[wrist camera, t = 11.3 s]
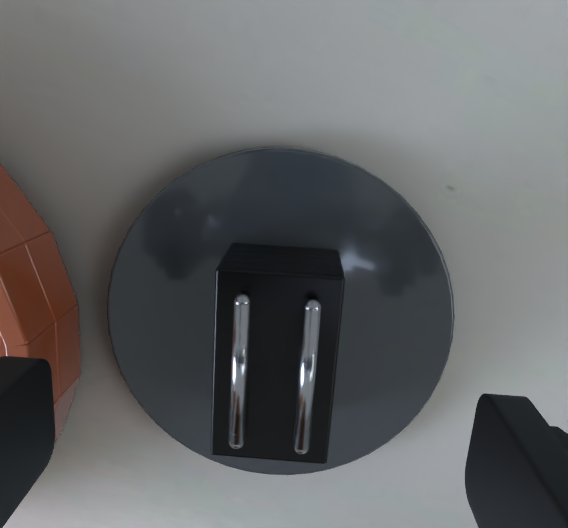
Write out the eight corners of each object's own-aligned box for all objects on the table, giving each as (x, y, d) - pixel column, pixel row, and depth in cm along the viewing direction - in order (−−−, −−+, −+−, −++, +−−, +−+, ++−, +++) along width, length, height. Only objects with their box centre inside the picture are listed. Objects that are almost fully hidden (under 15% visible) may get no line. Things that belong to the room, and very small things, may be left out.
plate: (112, 134, 15) (101, 135, 14) (472, 159, 15) (482, 161, 14) (118, 447, 18) (109, 462, 17) (424, 472, 17) (429, 489, 17)
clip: (230, 241, 15) (211, 272, 12) (339, 249, 15) (347, 283, 12) (224, 403, 16) (205, 467, 13) (324, 411, 16) (328, 477, 13)
